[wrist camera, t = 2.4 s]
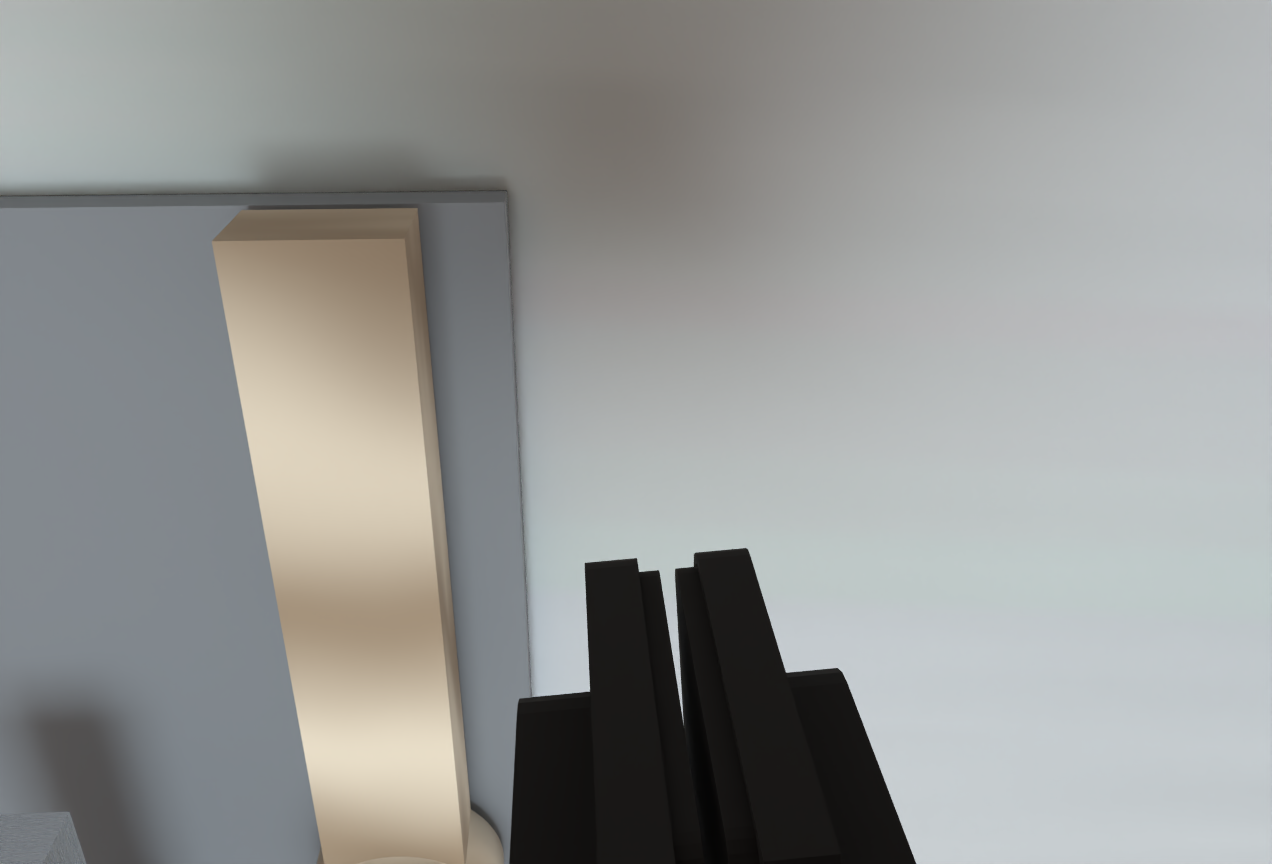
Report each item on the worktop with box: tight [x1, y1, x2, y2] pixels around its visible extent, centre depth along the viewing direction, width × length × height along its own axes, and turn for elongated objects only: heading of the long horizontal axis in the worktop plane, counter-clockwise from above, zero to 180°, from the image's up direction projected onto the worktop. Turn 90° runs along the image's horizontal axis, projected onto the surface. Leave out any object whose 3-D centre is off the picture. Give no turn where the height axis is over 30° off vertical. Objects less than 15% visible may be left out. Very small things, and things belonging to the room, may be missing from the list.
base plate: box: [0, 191, 532, 864], centre depth 23 cm, size 18×20×1 cm
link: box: [212, 208, 504, 864], centre depth 20 cm, size 18×4×6 cm, turn 0°
